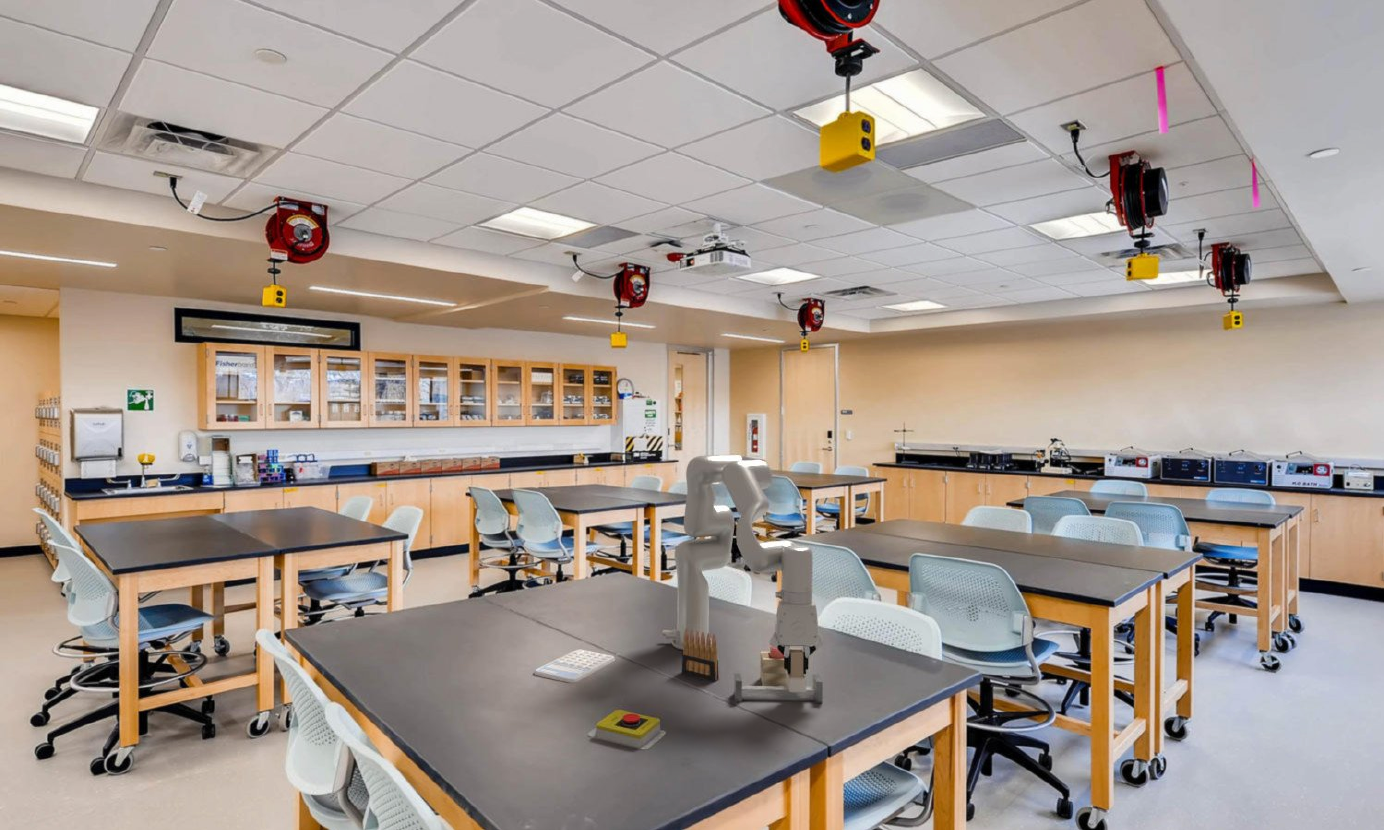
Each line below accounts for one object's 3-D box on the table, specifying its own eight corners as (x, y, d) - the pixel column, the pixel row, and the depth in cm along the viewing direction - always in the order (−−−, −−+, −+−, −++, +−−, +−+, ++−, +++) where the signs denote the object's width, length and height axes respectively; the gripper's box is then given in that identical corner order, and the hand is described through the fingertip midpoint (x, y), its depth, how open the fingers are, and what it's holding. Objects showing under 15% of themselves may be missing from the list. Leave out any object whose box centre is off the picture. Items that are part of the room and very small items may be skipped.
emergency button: (646, 731, 140) (585, 717, 147) (646, 753, 140) (585, 737, 147) (667, 714, 149) (609, 701, 155) (667, 734, 149) (608, 721, 155)
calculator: (616, 661, 194) (616, 655, 194) (573, 685, 176) (573, 678, 176) (578, 654, 200) (578, 647, 200) (532, 676, 182) (532, 669, 182)
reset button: (770, 664, 176) (771, 650, 176) (769, 660, 180) (769, 645, 180) (785, 665, 176) (785, 650, 176) (783, 660, 180) (783, 645, 180)
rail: (735, 701, 165) (735, 680, 165) (734, 693, 170) (734, 673, 170) (822, 702, 165) (822, 681, 165) (818, 694, 170) (818, 674, 170)
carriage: (789, 691, 165) (789, 654, 165) (786, 682, 171) (786, 646, 171) (806, 691, 165) (806, 654, 165) (802, 682, 171) (802, 646, 171)
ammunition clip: (718, 679, 180) (719, 633, 180) (715, 681, 178) (715, 635, 178) (685, 671, 186) (685, 626, 186) (681, 673, 184) (681, 628, 184)
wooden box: (762, 686, 175) (762, 659, 175) (760, 678, 181) (760, 651, 181) (794, 687, 175) (794, 659, 175) (790, 678, 181) (791, 651, 181)
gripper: (764, 600, 164) (764, 677, 164) (833, 601, 164) (832, 678, 164) (761, 592, 172) (761, 666, 172) (827, 593, 172) (826, 667, 172)
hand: (796, 671), depth 168 cm, fingers closed on carriage, 3 cm apart
